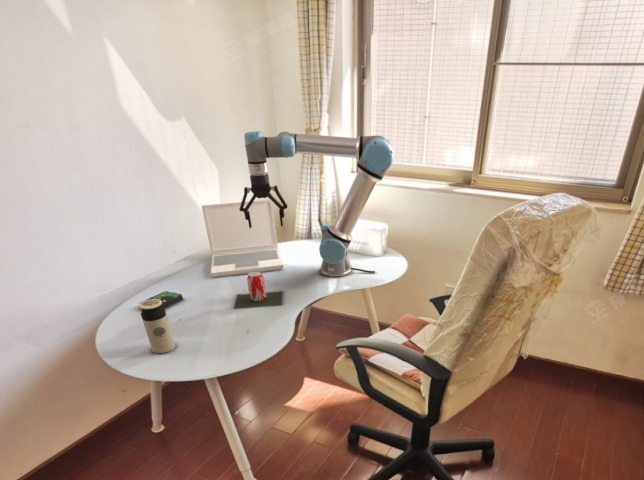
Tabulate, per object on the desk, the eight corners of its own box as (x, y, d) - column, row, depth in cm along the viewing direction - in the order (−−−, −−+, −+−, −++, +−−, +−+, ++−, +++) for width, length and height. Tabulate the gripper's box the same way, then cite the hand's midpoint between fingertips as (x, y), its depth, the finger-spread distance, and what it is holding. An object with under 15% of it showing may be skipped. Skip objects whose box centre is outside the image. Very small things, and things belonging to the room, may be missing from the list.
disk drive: (157, 313, 193) (183, 299, 203) (155, 307, 191) (182, 293, 202) (140, 309, 197) (167, 295, 208) (138, 303, 196) (165, 289, 206)
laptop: (212, 278, 224) (199, 218, 208) (213, 260, 245) (201, 205, 229) (283, 269, 230) (276, 211, 214) (278, 253, 251) (271, 199, 235)
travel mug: (154, 344, 170) (139, 300, 160) (176, 341, 172) (163, 297, 162) (151, 355, 164) (136, 309, 154) (174, 352, 165) (161, 306, 155)
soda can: (263, 303, 197) (259, 277, 191) (248, 302, 199) (243, 276, 192) (269, 296, 203) (265, 270, 196) (254, 295, 204) (250, 270, 198)
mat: (282, 291, 207) (282, 291, 207) (281, 304, 196) (281, 304, 196) (237, 295, 206) (237, 294, 206) (234, 308, 194) (234, 308, 194)
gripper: (227, 177, 185) (236, 230, 196) (289, 174, 186) (294, 226, 198) (229, 174, 191) (238, 225, 203) (289, 170, 193) (294, 222, 204)
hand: (266, 226), depth 200 cm, fingers open, 13 cm apart
